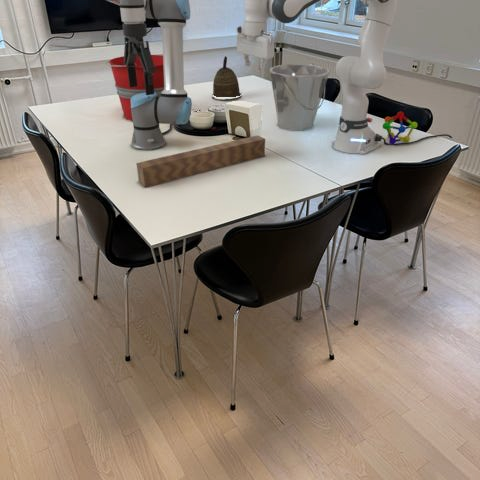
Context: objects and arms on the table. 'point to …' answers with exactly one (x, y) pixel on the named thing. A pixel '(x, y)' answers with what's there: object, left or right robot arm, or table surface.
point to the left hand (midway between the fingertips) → (141, 90)
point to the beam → (199, 160)
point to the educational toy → (398, 128)
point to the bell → (225, 82)
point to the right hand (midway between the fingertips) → (254, 67)
